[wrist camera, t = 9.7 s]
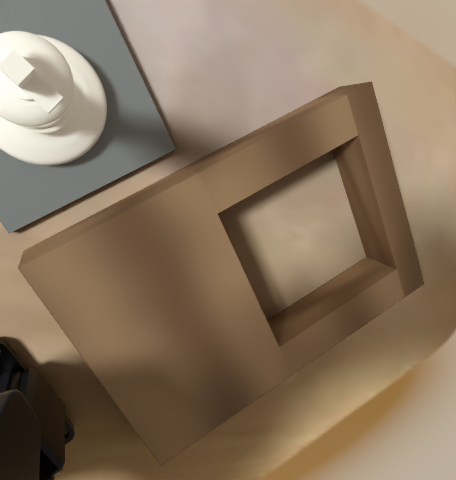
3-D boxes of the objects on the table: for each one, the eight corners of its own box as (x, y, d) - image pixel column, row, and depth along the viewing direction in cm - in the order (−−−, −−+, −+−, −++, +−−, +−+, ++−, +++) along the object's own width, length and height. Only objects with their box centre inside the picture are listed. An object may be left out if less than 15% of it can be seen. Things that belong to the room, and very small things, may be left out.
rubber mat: (10, 231, 17) (9, 233, 17) (-125, 39, 14) (-130, 36, 14) (173, 149, 19) (175, 149, 19) (84, -39, 16) (84, -43, 16)
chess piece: (33, 6, 15) (-12, -171, 6) (131, 105, 18) (201, 78, 8) (-60, 99, 15) (-245, 51, 6) (51, 189, 17) (37, 253, 8)
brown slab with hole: (150, 431, 22) (160, 465, 20) (23, 250, 18) (17, 268, 15) (392, 270, 26) (424, 284, 24) (339, 86, 21) (371, 81, 19)
